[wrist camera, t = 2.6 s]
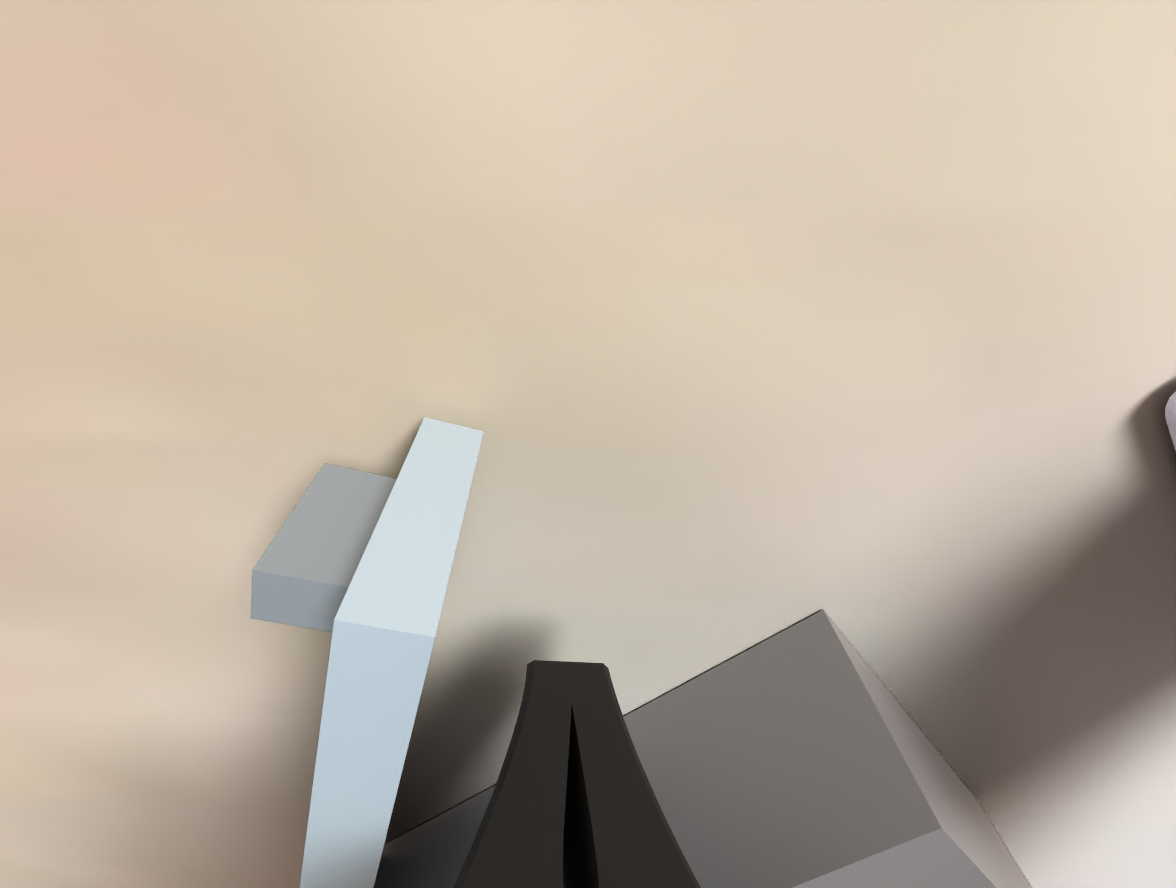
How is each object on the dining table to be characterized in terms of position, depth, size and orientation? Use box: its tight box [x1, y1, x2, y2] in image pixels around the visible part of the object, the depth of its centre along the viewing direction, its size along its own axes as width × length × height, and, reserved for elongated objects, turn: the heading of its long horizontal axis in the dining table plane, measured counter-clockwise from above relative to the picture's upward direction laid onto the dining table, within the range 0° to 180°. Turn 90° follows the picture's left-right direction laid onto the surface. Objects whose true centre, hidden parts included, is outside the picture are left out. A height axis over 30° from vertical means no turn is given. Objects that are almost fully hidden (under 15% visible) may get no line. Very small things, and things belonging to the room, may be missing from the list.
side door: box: [251, 417, 484, 888], centre depth 11 cm, size 14×2×4 cm, turn 163°
